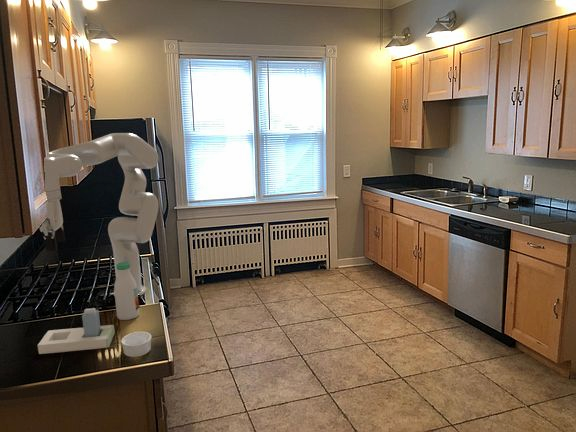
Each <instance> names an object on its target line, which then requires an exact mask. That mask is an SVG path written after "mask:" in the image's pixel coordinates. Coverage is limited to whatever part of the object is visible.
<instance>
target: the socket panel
mask: <svg viewBox="0 0 576 432" xmlns="http://www.w3.org/2000/svg"><path fill="white" fill-rule="evenodd" d="M100 327H101V334H100V336H97V337H86V338H85V335H84V327H83V326H82V327H75V328H73V327H72V328H62V329H60V328H59V329H53V330H52V329H51V330H47V332H46V333H45V334H44V335H43V337H42V339H41V340H40V341H39V343H38V344H37V351H38V354H39V355H42V354H43V355H45V354H55V353H65V352H75V351H85V350H97V349H104V348H106V349H107V348H109V347H110V345H111V343H112V341H113V339H114V336H115V324H107V325H100Z"/></svg>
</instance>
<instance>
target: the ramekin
mask: <svg viewBox="0 0 576 432" xmlns="http://www.w3.org/2000/svg"><path fill="white" fill-rule="evenodd" d="M121 345H122V350H123V353H124V355H125V356H127V357H130V358H137V357H141V356H144V355H146V354H147V353H149V352H150V351H151V348H152V335H151V333H150V332H147V331H135V332H131V333H129V334H126V335H125V336H122V338H121Z"/></svg>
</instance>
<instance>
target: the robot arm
mask: <svg viewBox="0 0 576 432" xmlns="http://www.w3.org/2000/svg"><path fill="white" fill-rule="evenodd" d="M48 153H49V157H45V158H44V172H45V191H46V196H47V199H48V214H49V215H48V218H47V219H46V220H45V222H44V223H43V224H42V226H41V227H39V231H40V232H41V233H43V234H42V235H43V239H44V245H45V246H44V247H45V251H47V252H48V251H49V252H52V251H57V250H58V245H57V243H64V242H65V241H66V237H65V231H64V225H63V223H64V217H63V212H62V211H63V210H62V206H61V201H60V200H62V199H63V198H62V193H61V186H60V178H65V177H66V178H67V177H68V178H69V177H74V176H77V175H79V174H80V172H81V171H82V169H83V167H89V166H90V167H91V166H95V165H99V164H102V163H104V162H106V161H109V160H111V159H114V158H115V157H117V160H118V163H119V165H120V167H121V169H122V170H123V174H124V183H123V187H122V191H121V195H120V198H119V201H118V210H119V211H120V213H122V214H124V215H127V216H136V217H137V218H135V217H125V216H121V217H119V216H118V217H115V218H113V219H112V220H111V221H110V222H109V223H108V225H107V226H108V227H107V232H108V237H109V241H110V243H111V247H112V253H113V261H114V270H115V271H114V272H115V279H116V278H117V274H118V271H117V268H116V265H117V264H118V263H121V262H129V263H130V272H131V275H132V276H133V278H134V280H135V282H136V286H137V293H138V294H139V295H140V296H142V295H144V294H145V293H146V292H147V288H146V286H145V285H143V284H142V276H141V265H140V251H139V248H138V245H137V243H138V244H145V243H147V242H148V241H149V240H150V239H151V238H152V235H153V231H154V228H155V223H156V220H157V218H158V217H157V216H158V214H159V213H158V211H159V200H158V198H157V195H155V193H151V192H148V191H147V192H146V188H147V177H146V175H145V173H144V172H143V169H144V170H145V169H146V170H149V169H150V170H151V169H154V168H155V167H156V166H157V165H158V163H159V161H160V159H159V154H158V152H157V150H156V148H154V147H153V146H152V145H150V144H149V143H148V142H146V141H145V140H144V139H143V138H141V137H140V136H138V135H137V134H134V133H131V132H115V133H114V132H113V133H109V134H106V135H103V136H101V137H97V138H95V139H93V140H90V141H86V142H81V143H77V144H73V145H70V146H65V147H61V148H58V149H54V150H52V151H48ZM113 296H114V297H115V291H113Z"/></svg>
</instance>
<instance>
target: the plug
mask: <svg viewBox="0 0 576 432" xmlns="http://www.w3.org/2000/svg"><path fill="white" fill-rule="evenodd" d="M83 311H84V312H83V314H82V315H81V319H82V328H83V327H84V335H85V338H86V337H97V336H100V334H101V327H100V326H101V322H100V312H99V309H96V308H95V307H92V308H85V309H84V310H83Z"/></svg>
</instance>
